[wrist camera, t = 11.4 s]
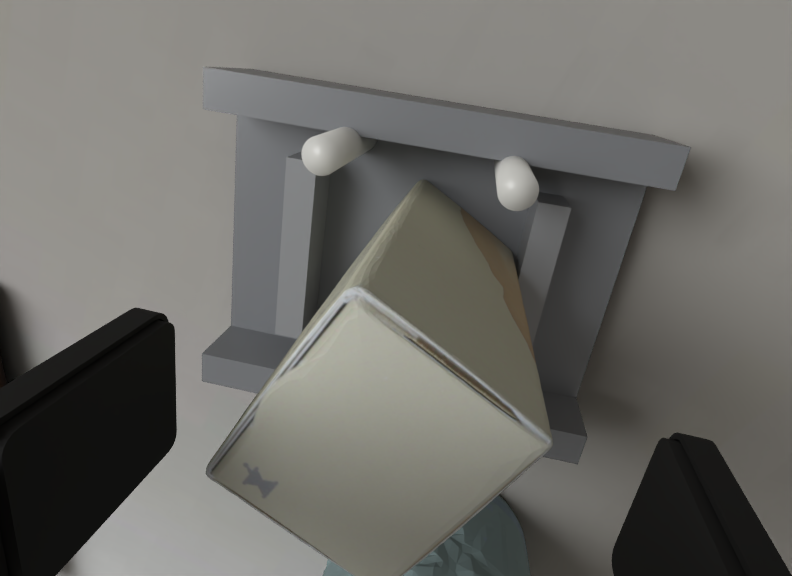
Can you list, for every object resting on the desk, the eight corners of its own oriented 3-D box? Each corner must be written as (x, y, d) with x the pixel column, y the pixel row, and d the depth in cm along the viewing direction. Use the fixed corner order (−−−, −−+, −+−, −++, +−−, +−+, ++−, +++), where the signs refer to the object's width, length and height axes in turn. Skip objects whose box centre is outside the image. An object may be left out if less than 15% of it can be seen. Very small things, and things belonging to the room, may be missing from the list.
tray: (653, 135, 17) (732, 160, 12) (564, 408, 22) (591, 521, 16) (250, 68, 19) (151, 64, 13) (240, 339, 23) (162, 422, 17)
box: (426, 345, 20) (369, 609, 10) (338, 277, 20) (186, 483, 10) (521, 246, 18) (565, 452, 8) (425, 167, 18) (347, 283, 8)
